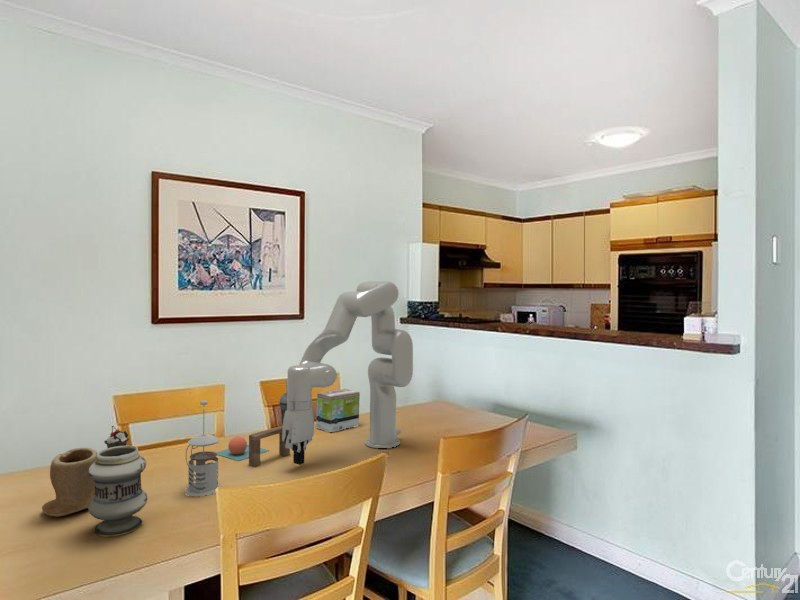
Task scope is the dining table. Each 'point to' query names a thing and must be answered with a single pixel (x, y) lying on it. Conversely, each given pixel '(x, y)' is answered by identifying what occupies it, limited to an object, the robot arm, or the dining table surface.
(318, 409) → the tea box
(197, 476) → the french press
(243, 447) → the ball
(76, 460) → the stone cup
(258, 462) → the bridge
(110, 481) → the apothecary jar
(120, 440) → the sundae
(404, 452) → the dining table surface
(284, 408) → the beverage cup
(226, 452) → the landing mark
